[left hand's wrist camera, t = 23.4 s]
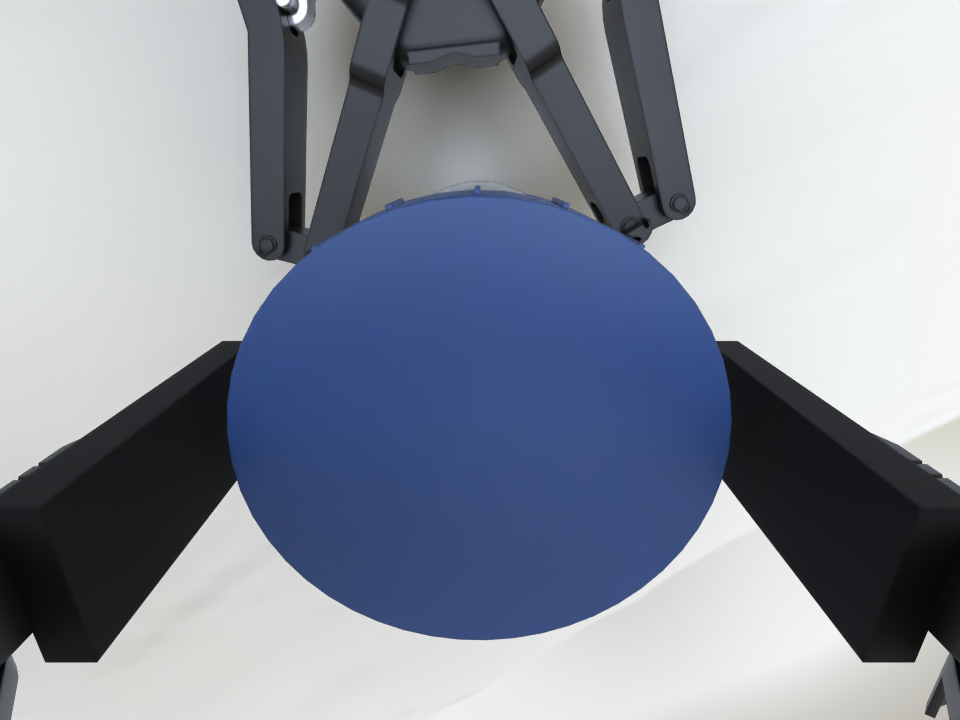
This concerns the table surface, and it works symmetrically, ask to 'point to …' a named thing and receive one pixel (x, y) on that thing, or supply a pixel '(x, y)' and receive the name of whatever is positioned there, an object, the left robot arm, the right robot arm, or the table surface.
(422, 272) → the lid
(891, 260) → the table surface
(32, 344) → the table surface
